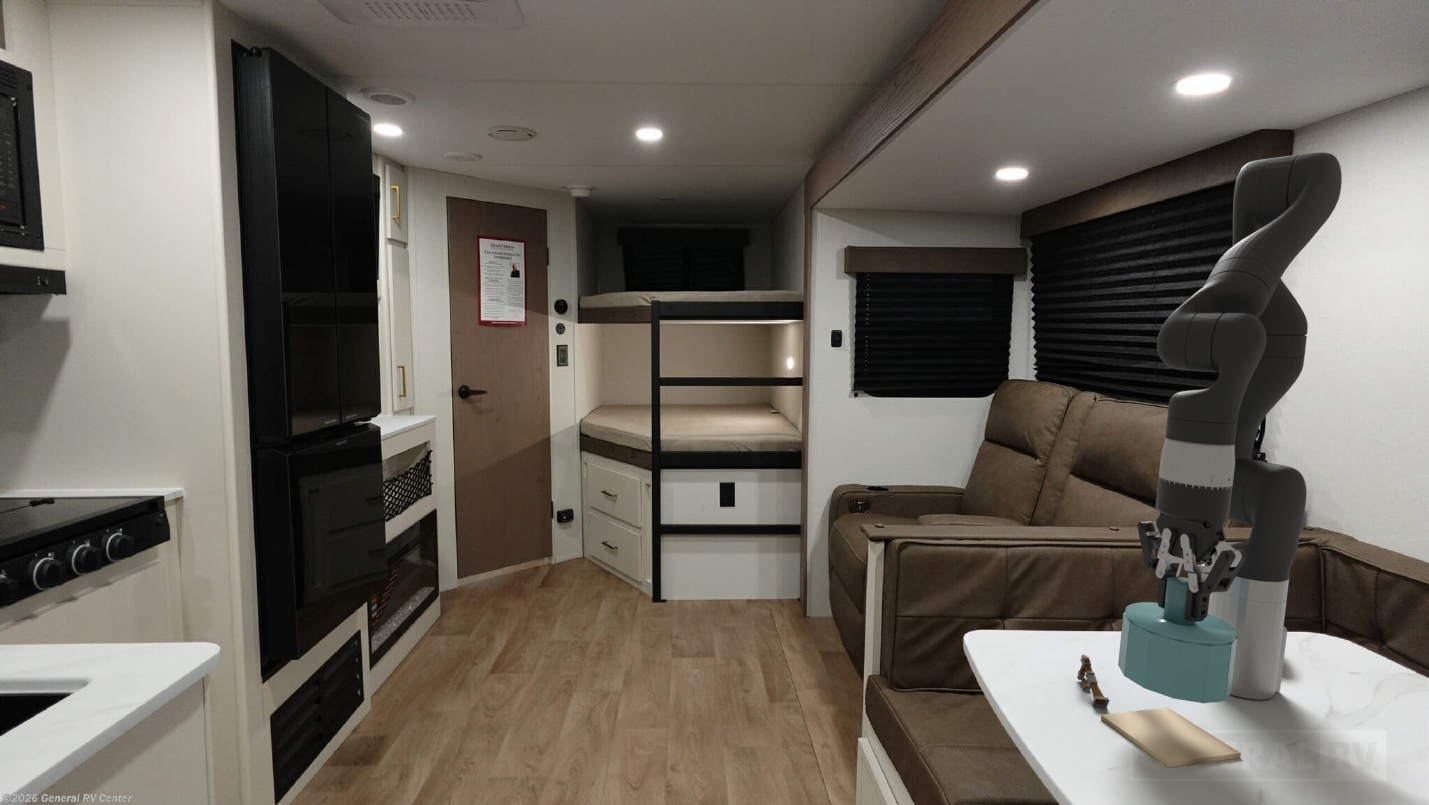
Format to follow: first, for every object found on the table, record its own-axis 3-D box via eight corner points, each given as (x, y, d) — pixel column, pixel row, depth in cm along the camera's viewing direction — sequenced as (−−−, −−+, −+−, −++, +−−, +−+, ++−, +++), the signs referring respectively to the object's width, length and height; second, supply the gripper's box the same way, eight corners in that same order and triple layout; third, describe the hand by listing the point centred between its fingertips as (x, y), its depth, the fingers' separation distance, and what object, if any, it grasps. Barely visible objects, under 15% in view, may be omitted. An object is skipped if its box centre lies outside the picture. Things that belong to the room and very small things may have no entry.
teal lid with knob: (1171, 654, 97) (1181, 563, 96) (1254, 698, 86) (1266, 596, 85) (1098, 660, 95) (1107, 567, 93) (1173, 706, 83) (1185, 601, 82)
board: (1167, 711, 98) (1167, 707, 98) (1240, 757, 87) (1240, 753, 87) (1100, 719, 95) (1101, 714, 95) (1168, 767, 85) (1168, 762, 85)
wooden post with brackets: (1083, 673, 106) (1091, 651, 104) (1101, 720, 100) (1110, 699, 97) (1070, 671, 107) (1077, 650, 104) (1087, 719, 100) (1096, 697, 97)
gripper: (1276, 490, 82) (1258, 636, 84) (1171, 466, 95) (1158, 591, 97) (1223, 491, 80) (1206, 640, 82) (1124, 466, 94) (1111, 594, 95)
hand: (1180, 613), depth 90 cm, fingers closed on teal lid with knob, 3 cm apart
